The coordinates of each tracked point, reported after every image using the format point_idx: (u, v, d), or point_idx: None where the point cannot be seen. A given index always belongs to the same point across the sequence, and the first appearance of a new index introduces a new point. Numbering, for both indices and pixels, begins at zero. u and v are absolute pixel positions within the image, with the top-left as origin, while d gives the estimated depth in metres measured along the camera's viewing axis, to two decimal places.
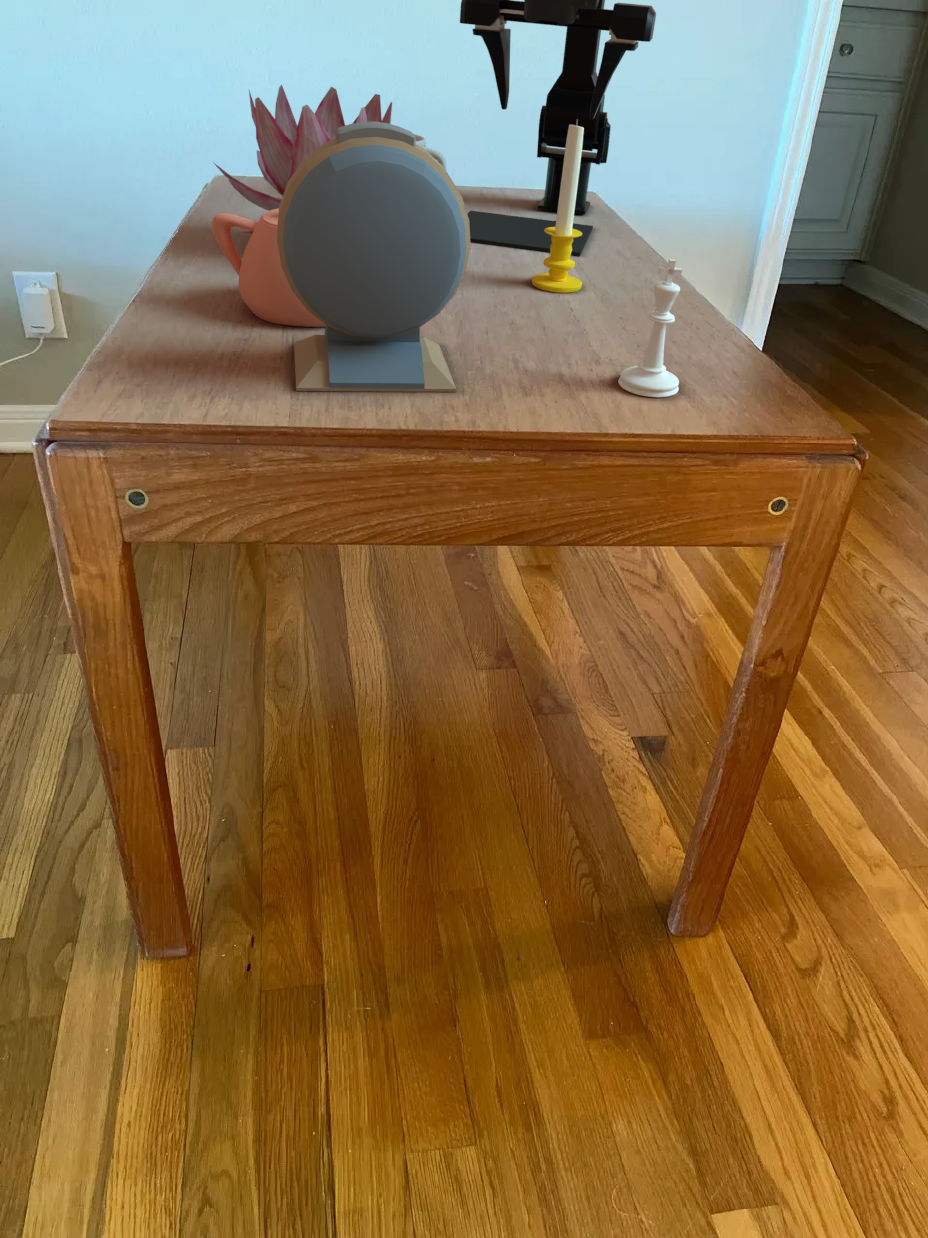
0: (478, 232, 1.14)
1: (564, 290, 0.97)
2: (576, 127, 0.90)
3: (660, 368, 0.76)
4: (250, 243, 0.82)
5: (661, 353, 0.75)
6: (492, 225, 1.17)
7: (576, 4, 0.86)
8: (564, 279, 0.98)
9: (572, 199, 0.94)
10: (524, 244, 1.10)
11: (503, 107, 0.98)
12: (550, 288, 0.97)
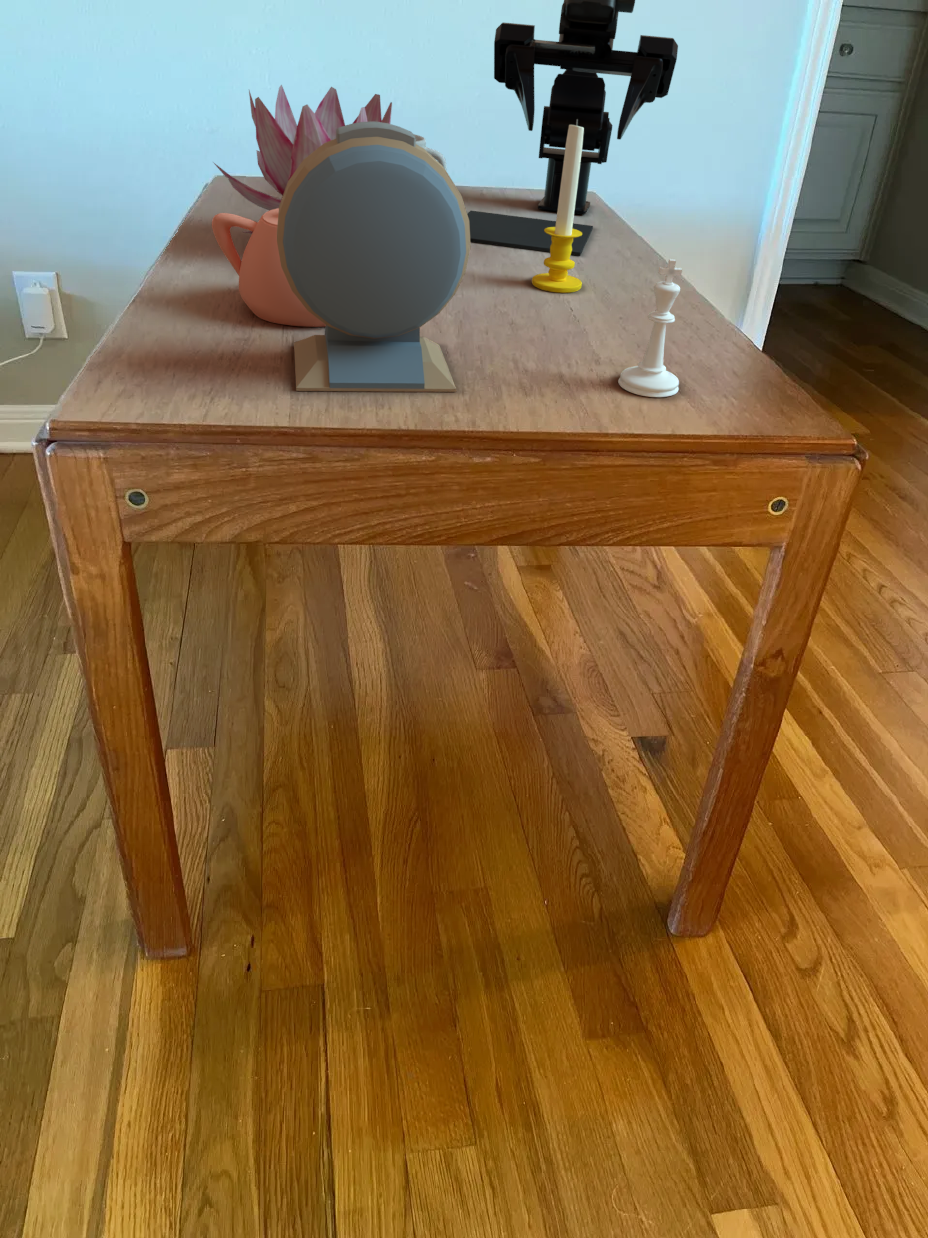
0: (478, 232, 1.14)
1: (564, 290, 0.97)
2: (576, 127, 0.90)
3: (660, 368, 0.76)
4: (250, 243, 0.82)
5: (661, 353, 0.75)
6: (492, 225, 1.17)
7: None
8: (564, 279, 0.98)
9: (572, 199, 0.94)
10: (524, 244, 1.10)
11: (531, 122, 0.98)
12: (550, 288, 0.97)
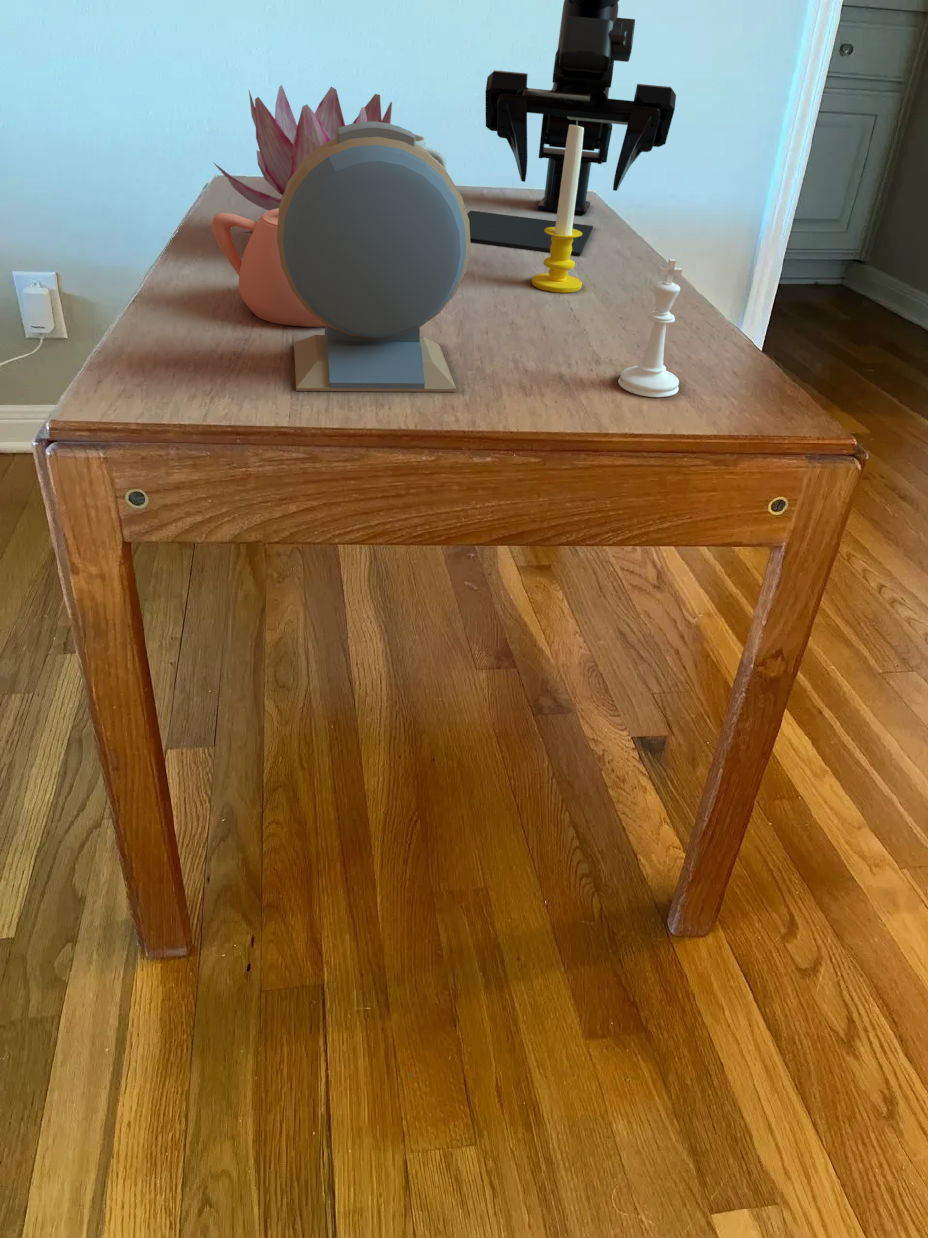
0: (478, 232, 1.14)
1: (564, 290, 0.97)
2: (576, 127, 0.90)
3: (660, 368, 0.76)
4: (250, 243, 0.82)
5: (661, 353, 0.75)
6: (492, 225, 1.17)
7: (615, 36, 0.88)
8: (564, 279, 0.98)
9: (572, 199, 0.94)
10: (524, 244, 1.10)
11: (523, 173, 0.94)
12: (550, 288, 0.97)
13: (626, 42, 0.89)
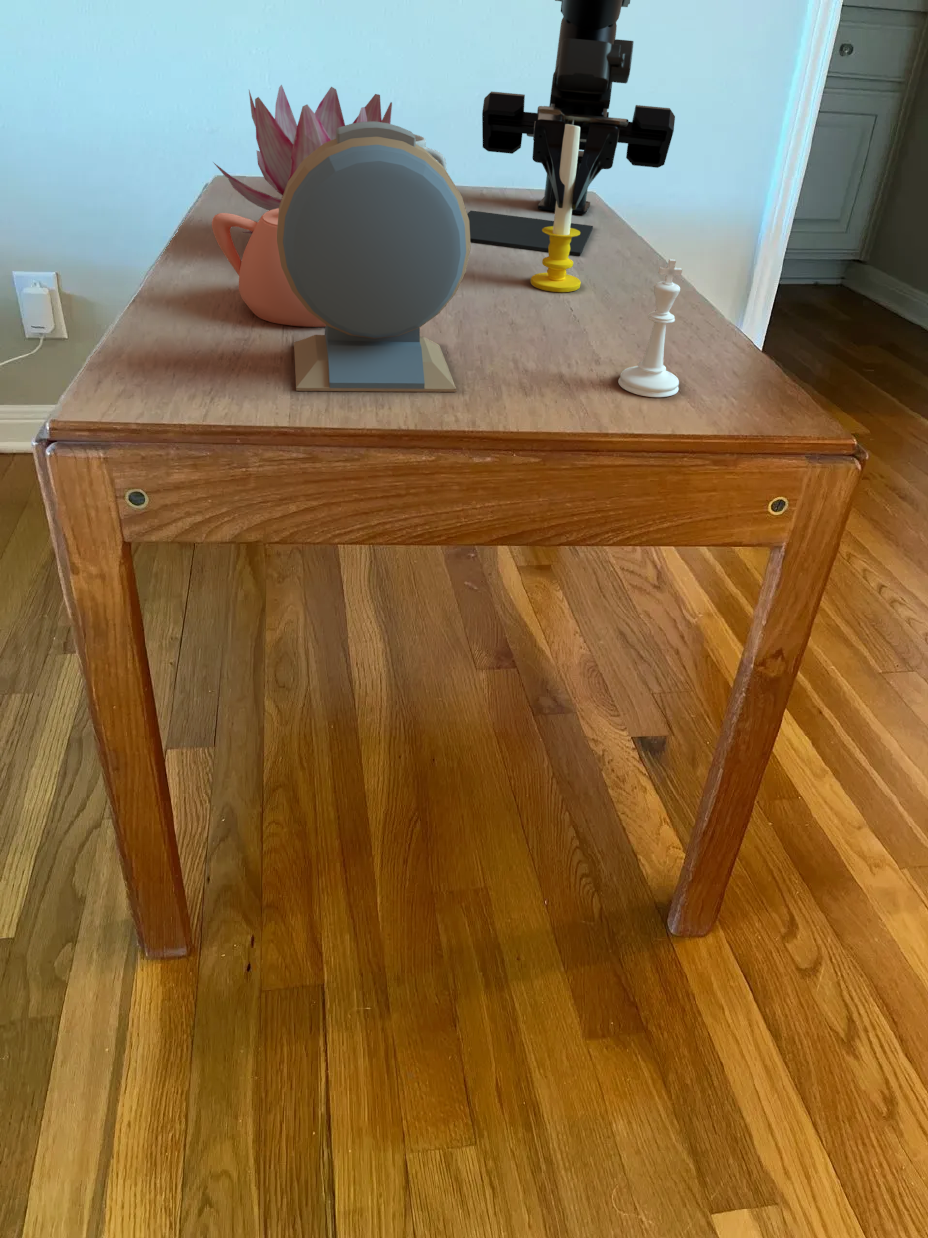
0: (478, 232, 1.14)
1: (563, 289, 0.97)
2: (572, 126, 0.90)
3: (660, 368, 0.76)
4: (250, 243, 0.82)
5: (661, 353, 0.75)
6: (492, 225, 1.17)
7: (613, 59, 0.87)
8: (563, 278, 0.98)
9: (569, 199, 0.94)
10: (524, 244, 1.10)
11: (561, 200, 0.93)
12: (549, 288, 0.97)
13: (624, 64, 0.88)
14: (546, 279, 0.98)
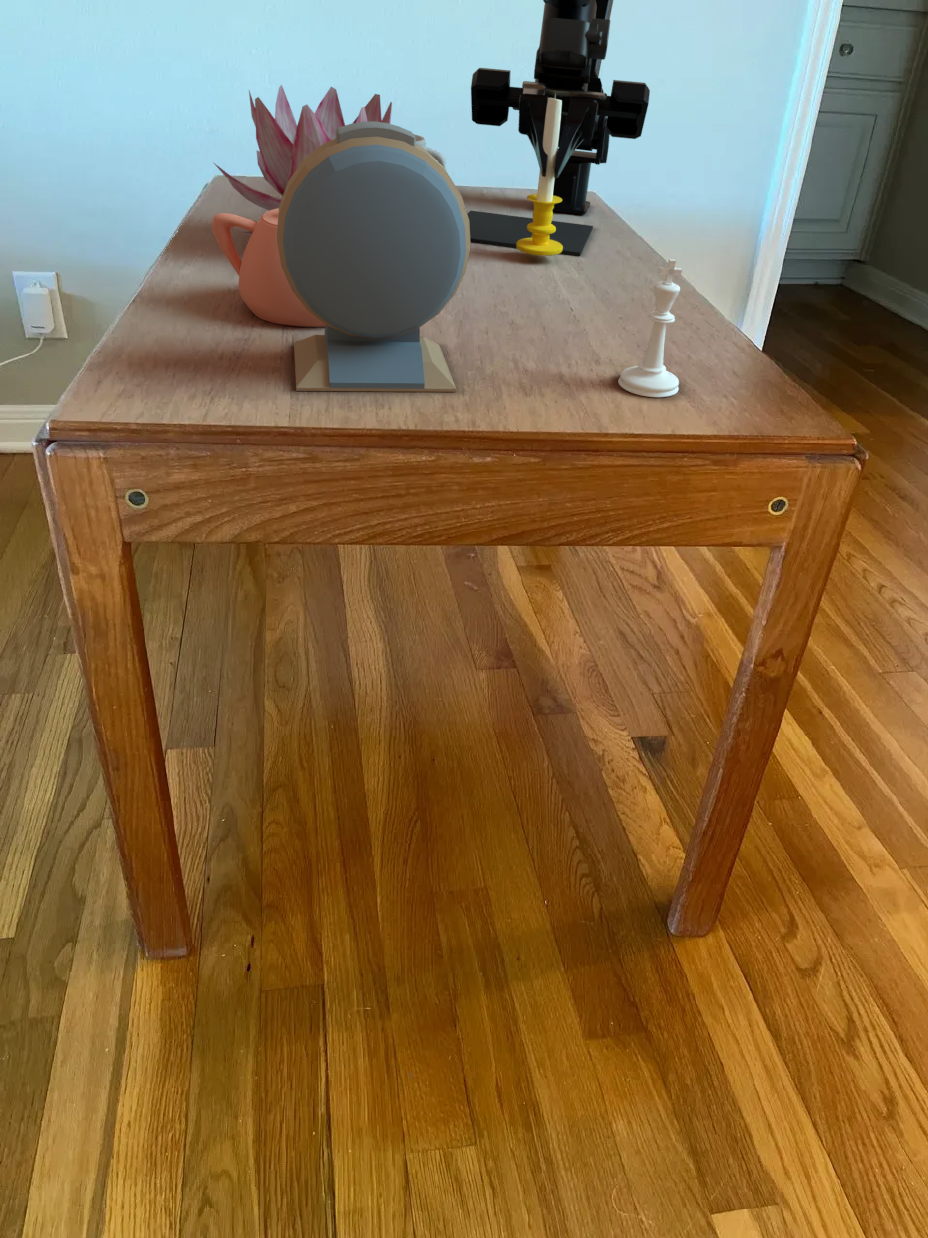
0: (478, 232, 1.14)
1: (545, 253, 1.04)
2: (554, 100, 0.97)
3: (660, 368, 0.76)
4: (250, 243, 0.82)
5: (661, 353, 0.75)
6: (492, 225, 1.17)
7: (591, 37, 0.94)
8: (546, 243, 1.06)
9: (551, 168, 1.01)
10: None
11: (544, 169, 1.00)
12: (532, 251, 1.04)
13: (602, 42, 0.95)
14: (530, 243, 1.06)
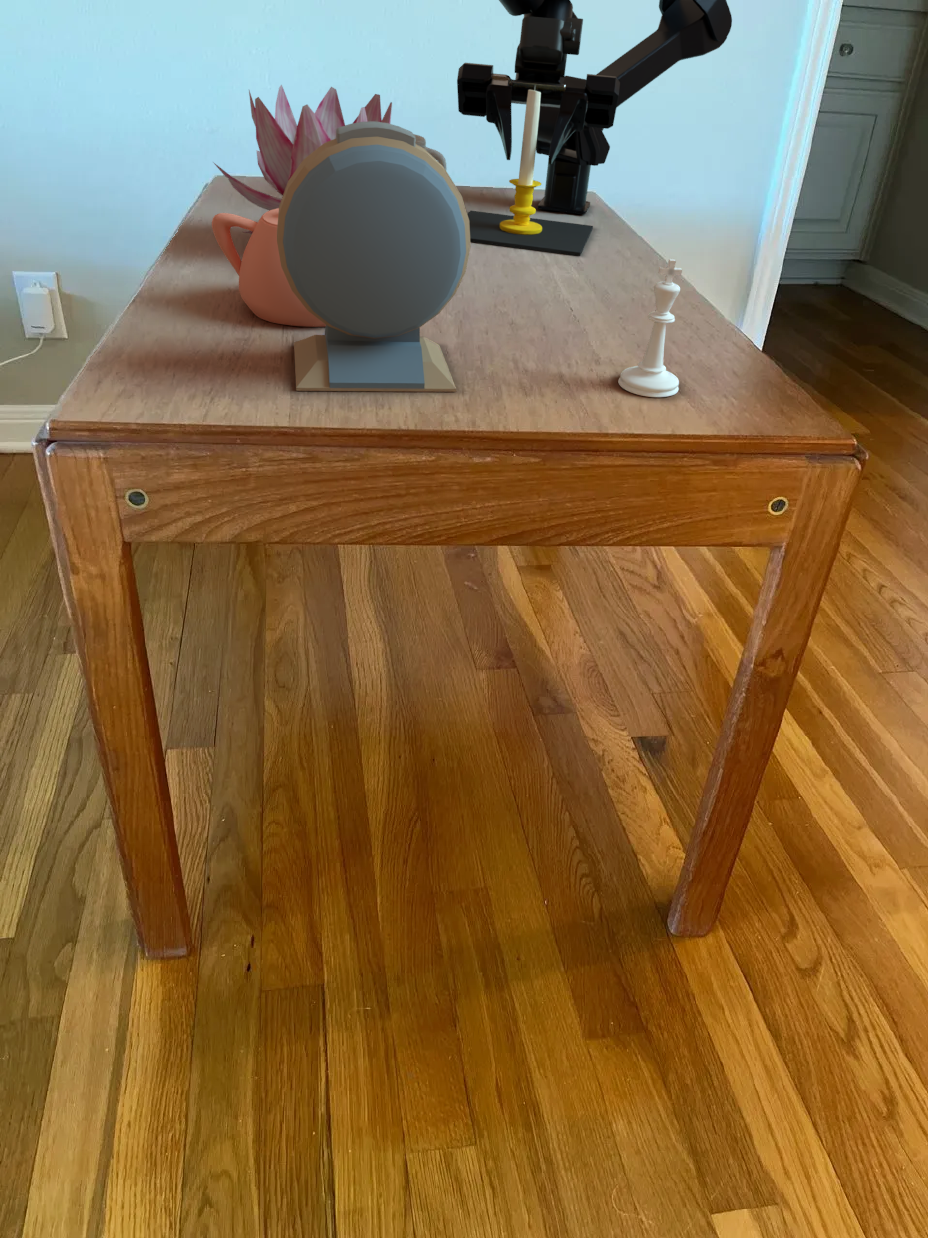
0: (478, 232, 1.14)
1: (525, 232, 1.14)
2: (534, 91, 1.07)
3: (660, 368, 0.76)
4: (250, 243, 0.82)
5: (661, 353, 0.75)
6: (492, 225, 1.17)
7: (565, 33, 1.04)
8: (526, 224, 1.15)
9: (531, 154, 1.11)
10: (524, 244, 1.10)
11: (508, 153, 1.10)
12: (513, 230, 1.14)
13: (575, 38, 1.05)
14: (512, 224, 1.16)
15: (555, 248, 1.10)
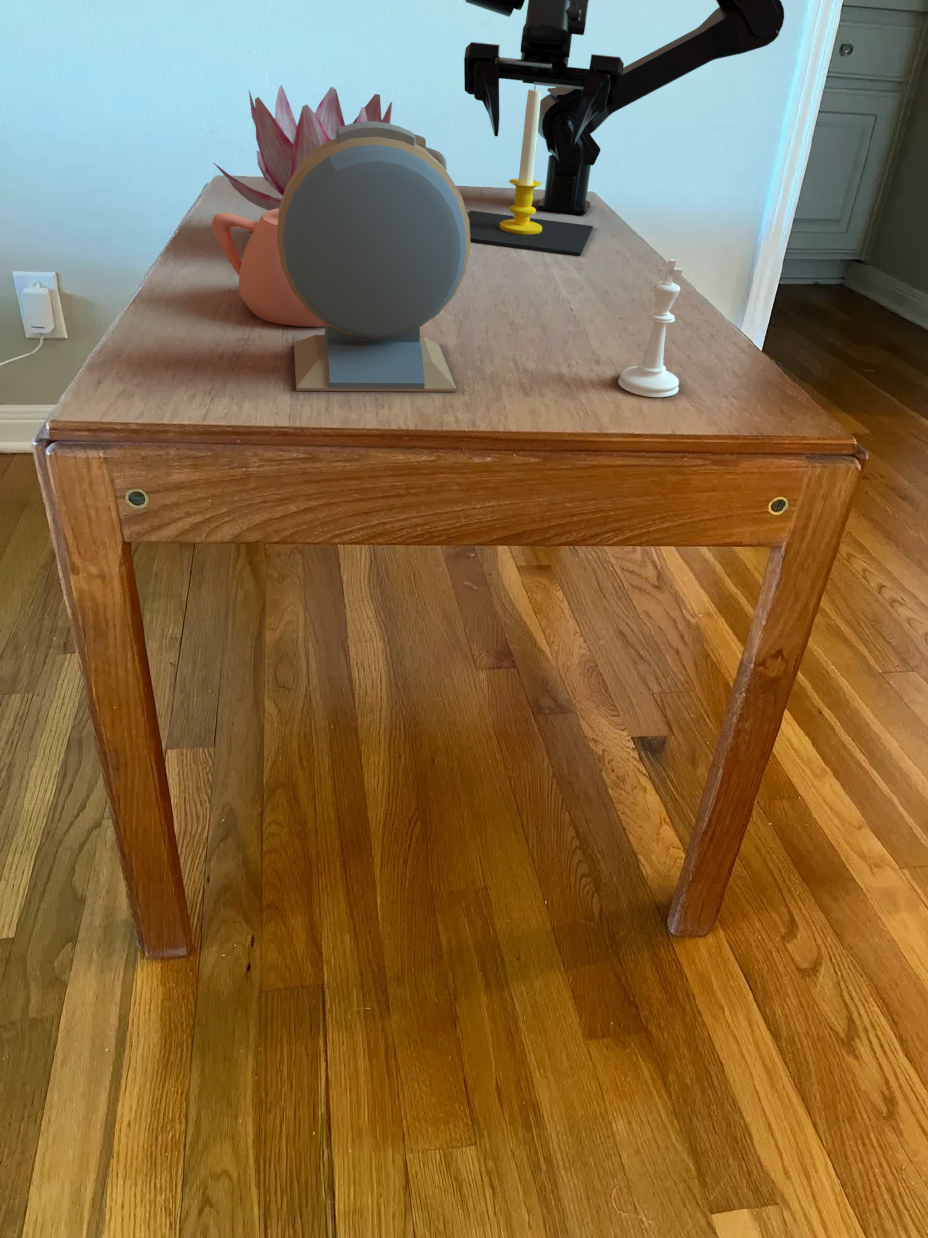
0: (478, 232, 1.14)
1: (525, 232, 1.14)
2: (534, 91, 1.07)
3: (660, 368, 0.76)
4: (250, 243, 0.82)
5: (661, 353, 0.75)
6: (492, 225, 1.17)
7: (571, 13, 1.06)
8: (526, 224, 1.15)
9: (531, 154, 1.11)
10: (524, 244, 1.10)
11: (496, 129, 1.12)
12: (513, 230, 1.14)
13: (581, 18, 1.07)
14: (512, 224, 1.16)
15: (555, 248, 1.10)
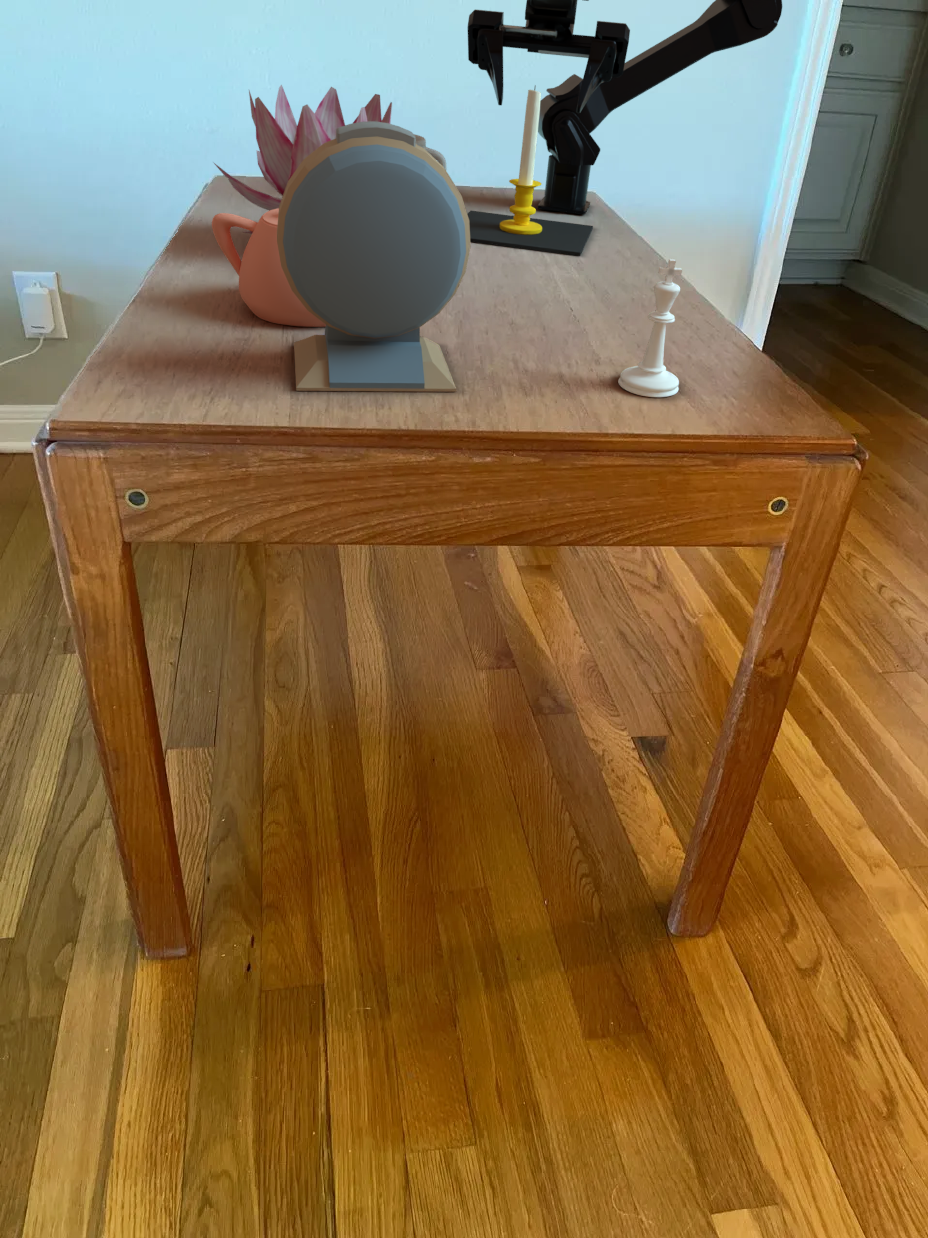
0: (478, 232, 1.14)
1: (525, 232, 1.14)
2: (534, 91, 1.07)
3: (660, 368, 0.76)
4: (250, 243, 0.82)
5: (661, 353, 0.75)
6: (492, 225, 1.17)
7: None
8: (526, 224, 1.15)
9: (531, 154, 1.11)
10: (524, 244, 1.10)
11: (500, 97, 1.10)
12: (513, 230, 1.14)
13: None
14: (512, 224, 1.16)
15: (555, 248, 1.10)
